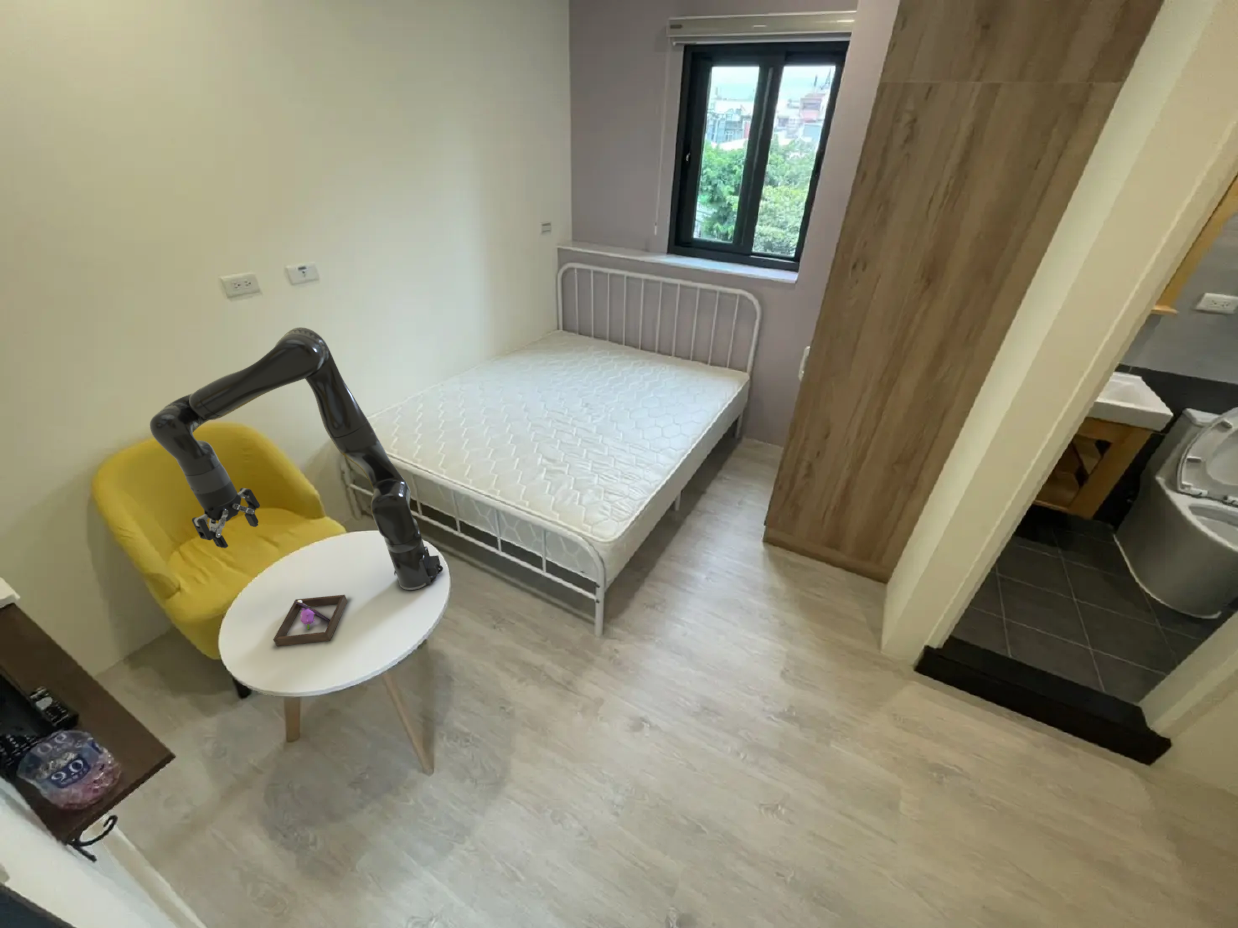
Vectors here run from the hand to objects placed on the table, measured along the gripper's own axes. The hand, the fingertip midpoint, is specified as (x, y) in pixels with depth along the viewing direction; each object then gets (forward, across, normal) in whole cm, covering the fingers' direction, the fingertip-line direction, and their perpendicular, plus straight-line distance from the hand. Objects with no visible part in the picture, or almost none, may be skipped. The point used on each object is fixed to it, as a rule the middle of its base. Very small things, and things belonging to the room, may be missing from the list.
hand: (239, 536), depth 129 cm
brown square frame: (+25, -2, -15) cm, 29 cm away
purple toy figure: (+25, -2, -15) cm, 29 cm away
